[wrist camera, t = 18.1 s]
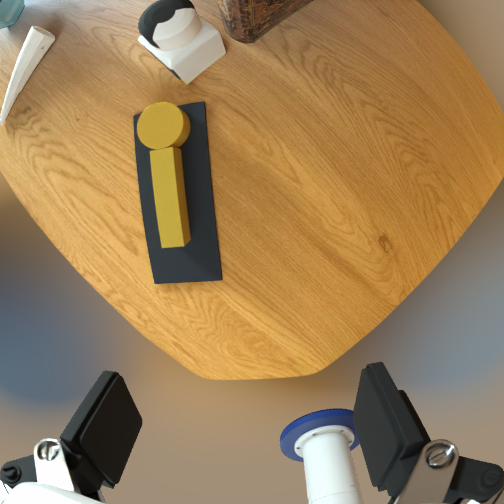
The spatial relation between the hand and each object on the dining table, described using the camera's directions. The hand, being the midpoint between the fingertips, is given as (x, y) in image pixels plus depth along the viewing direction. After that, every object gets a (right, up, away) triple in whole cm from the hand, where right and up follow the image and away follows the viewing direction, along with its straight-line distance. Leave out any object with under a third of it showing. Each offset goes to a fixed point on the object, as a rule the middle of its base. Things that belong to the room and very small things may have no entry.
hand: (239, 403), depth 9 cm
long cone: (-42, +38, +20) cm, 60 cm away
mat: (-10, +13, +26) cm, 31 cm away
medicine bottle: (-8, +32, +21) cm, 39 cm away
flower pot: (-53, +59, +14) cm, 80 cm away
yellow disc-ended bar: (-10, +16, +25) cm, 31 cm away
